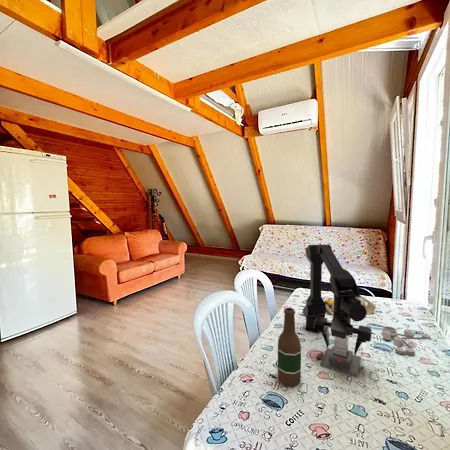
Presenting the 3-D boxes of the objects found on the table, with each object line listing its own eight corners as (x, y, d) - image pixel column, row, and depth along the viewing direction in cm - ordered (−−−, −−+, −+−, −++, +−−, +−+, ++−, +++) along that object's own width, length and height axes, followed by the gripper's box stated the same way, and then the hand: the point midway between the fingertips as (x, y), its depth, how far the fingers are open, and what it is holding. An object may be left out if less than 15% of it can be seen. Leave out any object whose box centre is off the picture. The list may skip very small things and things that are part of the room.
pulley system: (368, 345, 108) (411, 360, 96) (368, 334, 108) (411, 347, 96) (394, 328, 125) (433, 339, 113) (394, 318, 125) (433, 328, 113)
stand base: (319, 365, 94) (320, 356, 93) (327, 350, 104) (327, 341, 103) (357, 377, 87) (357, 367, 87) (360, 359, 97) (361, 350, 97)
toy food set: (357, 302, 154) (358, 289, 154) (376, 315, 136) (376, 301, 136) (315, 303, 154) (315, 290, 153) (327, 316, 136) (328, 301, 135)
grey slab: (333, 361, 94) (333, 340, 93) (336, 354, 99) (336, 334, 98) (345, 365, 92) (346, 343, 91) (348, 357, 97) (348, 336, 96)
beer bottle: (297, 391, 81) (297, 316, 79) (273, 382, 85) (273, 310, 83) (303, 376, 88) (304, 307, 86) (281, 369, 92) (282, 303, 90)
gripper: (309, 311, 92) (309, 353, 93) (370, 323, 82) (368, 371, 83) (317, 301, 101) (316, 340, 103) (372, 311, 91) (370, 354, 93)
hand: (341, 350), depth 95 cm, fingers open, 9 cm apart
